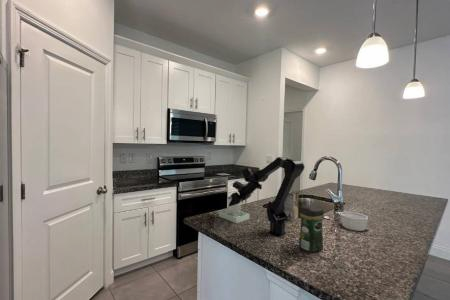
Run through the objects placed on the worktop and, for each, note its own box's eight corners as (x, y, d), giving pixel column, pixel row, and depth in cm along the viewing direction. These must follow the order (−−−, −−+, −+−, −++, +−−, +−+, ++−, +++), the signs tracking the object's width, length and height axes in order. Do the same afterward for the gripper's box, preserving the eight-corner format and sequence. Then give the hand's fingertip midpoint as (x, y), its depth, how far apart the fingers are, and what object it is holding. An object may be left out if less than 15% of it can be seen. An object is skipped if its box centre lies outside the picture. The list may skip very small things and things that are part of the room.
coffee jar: (310, 242, 98) (312, 202, 98) (326, 249, 91) (327, 206, 90) (295, 246, 94) (296, 204, 93) (309, 254, 86) (311, 209, 86)
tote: (249, 219, 126) (249, 214, 126) (236, 223, 119) (236, 218, 119) (231, 212, 137) (231, 208, 137) (218, 216, 130) (218, 211, 130)
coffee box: (288, 215, 136) (289, 190, 136) (298, 217, 132) (299, 191, 132) (282, 219, 129) (283, 192, 128) (293, 221, 125) (293, 194, 124)
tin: (240, 216, 129) (241, 196, 129) (236, 219, 124) (237, 198, 124) (231, 214, 132) (232, 195, 132) (226, 217, 127) (227, 197, 127)
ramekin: (340, 221, 127) (340, 210, 127) (366, 226, 121) (367, 214, 120) (339, 228, 116) (339, 215, 116) (368, 234, 109) (369, 220, 109)
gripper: (246, 175, 134) (230, 190, 140) (234, 179, 118) (216, 196, 123) (258, 189, 131) (241, 204, 136) (247, 195, 114) (228, 212, 119)
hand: (232, 203), depth 129 cm, fingers open, 8 cm apart
